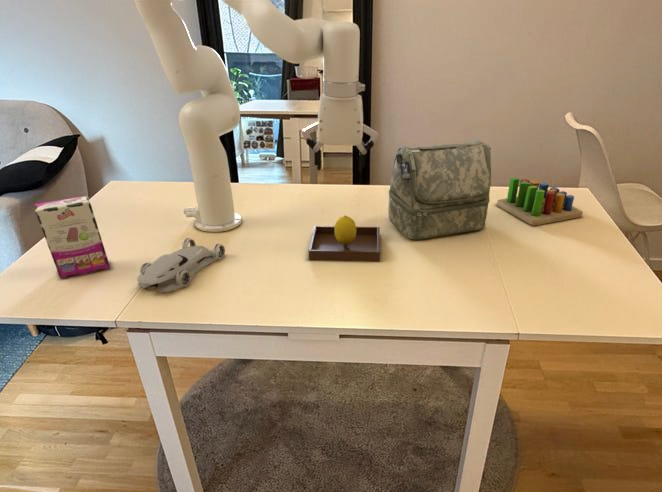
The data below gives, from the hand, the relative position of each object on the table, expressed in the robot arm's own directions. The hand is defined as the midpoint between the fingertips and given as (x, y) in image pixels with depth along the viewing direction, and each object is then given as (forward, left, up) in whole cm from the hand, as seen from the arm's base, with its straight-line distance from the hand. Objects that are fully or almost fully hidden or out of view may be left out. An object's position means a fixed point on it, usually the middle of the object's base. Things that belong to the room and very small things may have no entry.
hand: (339, 169), depth 127 cm
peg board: (+56, +26, -20) cm, 65 cm away
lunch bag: (+25, +14, -20) cm, 35 cm away
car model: (-37, -16, -20) cm, 45 cm away
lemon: (+1, -1, -19) cm, 19 cm away
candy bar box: (-60, -16, -20) cm, 65 cm away
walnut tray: (+1, -1, -19) cm, 20 cm away
